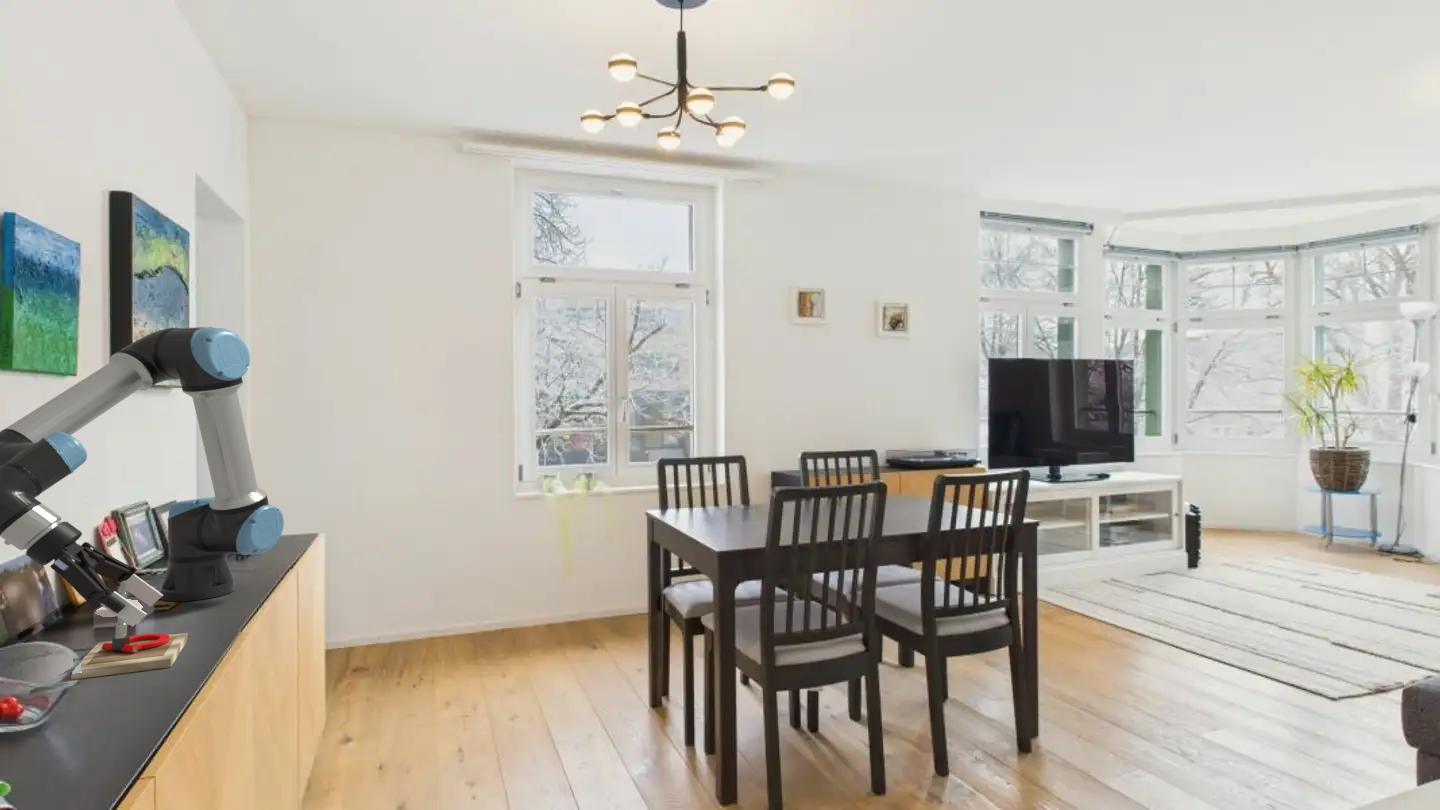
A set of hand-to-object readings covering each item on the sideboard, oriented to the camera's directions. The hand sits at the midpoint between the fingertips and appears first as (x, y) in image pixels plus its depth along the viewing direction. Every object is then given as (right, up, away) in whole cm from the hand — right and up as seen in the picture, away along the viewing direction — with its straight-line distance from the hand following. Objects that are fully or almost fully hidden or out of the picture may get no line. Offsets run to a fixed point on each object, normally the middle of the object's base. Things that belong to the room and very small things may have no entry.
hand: (148, 610), depth 141 cm
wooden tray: (-2, -9, -1) cm, 9 cm away
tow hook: (-3, -7, +2) cm, 8 cm away
